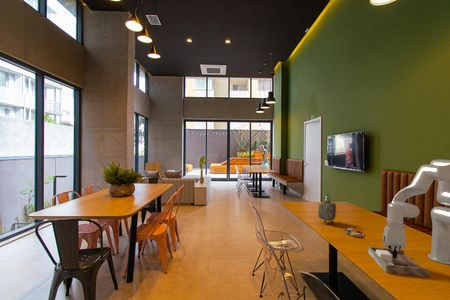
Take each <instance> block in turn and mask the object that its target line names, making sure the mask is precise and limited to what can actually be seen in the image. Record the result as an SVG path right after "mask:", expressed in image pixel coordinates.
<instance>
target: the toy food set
mask: <svg viewBox="0 0 450 300" xmlns="http://www.w3.org/2000/svg"><path fill="white" fill-rule="evenodd" d="M343 231H344V233H345V234H346V236H350V237H353V238H362V237H363V236H364V235H365V234H364V232H363V231H362V230H359V229H357V228H354V227H349V228H346V229H343Z"/></svg>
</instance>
